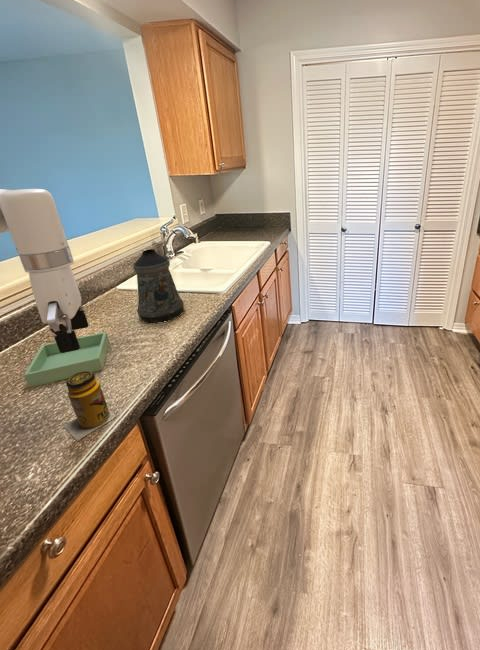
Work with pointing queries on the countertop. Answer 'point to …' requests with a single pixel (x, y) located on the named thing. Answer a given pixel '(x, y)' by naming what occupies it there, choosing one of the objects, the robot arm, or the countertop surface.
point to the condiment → (86, 404)
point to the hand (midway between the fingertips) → (75, 338)
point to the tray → (67, 360)
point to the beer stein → (156, 289)
